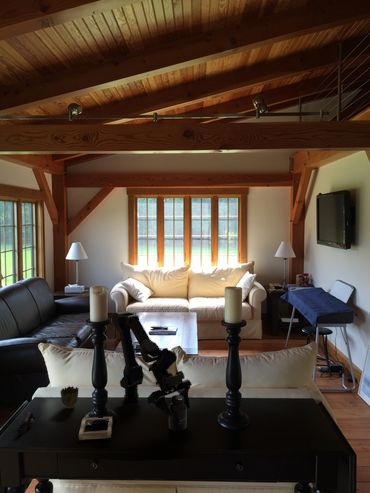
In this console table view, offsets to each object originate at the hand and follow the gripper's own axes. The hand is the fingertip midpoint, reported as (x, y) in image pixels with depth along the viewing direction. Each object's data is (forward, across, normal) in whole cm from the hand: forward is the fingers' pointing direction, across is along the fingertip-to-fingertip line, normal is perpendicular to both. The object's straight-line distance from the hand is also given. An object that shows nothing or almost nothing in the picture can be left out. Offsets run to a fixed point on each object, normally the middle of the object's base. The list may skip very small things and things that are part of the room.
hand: (180, 412), depth 150 cm
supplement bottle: (+4, 0, +6) cm, 7 cm away
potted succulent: (-26, -24, +36) cm, 51 cm away
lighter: (-23, -44, +32) cm, 59 cm away
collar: (-10, -25, +19) cm, 33 cm away
